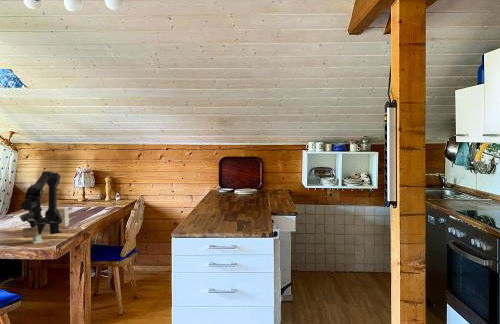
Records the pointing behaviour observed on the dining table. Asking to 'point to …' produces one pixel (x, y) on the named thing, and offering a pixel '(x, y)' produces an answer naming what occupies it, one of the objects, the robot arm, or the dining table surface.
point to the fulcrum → (36, 239)
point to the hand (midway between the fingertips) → (36, 233)
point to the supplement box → (64, 216)
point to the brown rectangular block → (35, 231)
